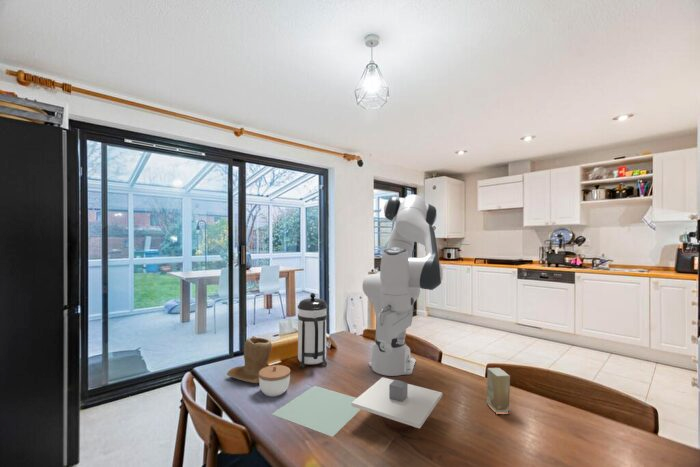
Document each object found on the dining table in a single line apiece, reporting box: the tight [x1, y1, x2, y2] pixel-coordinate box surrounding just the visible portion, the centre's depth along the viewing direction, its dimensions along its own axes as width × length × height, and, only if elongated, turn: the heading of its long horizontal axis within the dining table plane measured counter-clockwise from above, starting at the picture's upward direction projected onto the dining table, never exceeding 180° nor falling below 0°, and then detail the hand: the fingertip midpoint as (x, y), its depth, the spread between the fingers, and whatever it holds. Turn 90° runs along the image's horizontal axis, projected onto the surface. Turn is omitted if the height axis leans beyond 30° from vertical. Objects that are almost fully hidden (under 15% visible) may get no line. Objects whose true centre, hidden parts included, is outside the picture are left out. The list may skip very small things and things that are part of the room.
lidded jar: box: [258, 364, 291, 397], centre depth 112 cm, size 11×11×9 cm
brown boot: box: [226, 336, 272, 384], centre depth 124 cm, size 15×12×15 cm
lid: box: [351, 377, 443, 429], centre depth 95 cm, size 20×20×5 cm
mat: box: [271, 385, 362, 438], centre depth 102 cm, size 22×22×1 cm
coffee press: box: [297, 293, 328, 369], centre depth 138 cm, size 17×16×30 cm
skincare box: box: [486, 367, 511, 412], centre depth 102 cm, size 6×4×12 cm
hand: (395, 348), depth 97 cm, fingers open, 8 cm apart
